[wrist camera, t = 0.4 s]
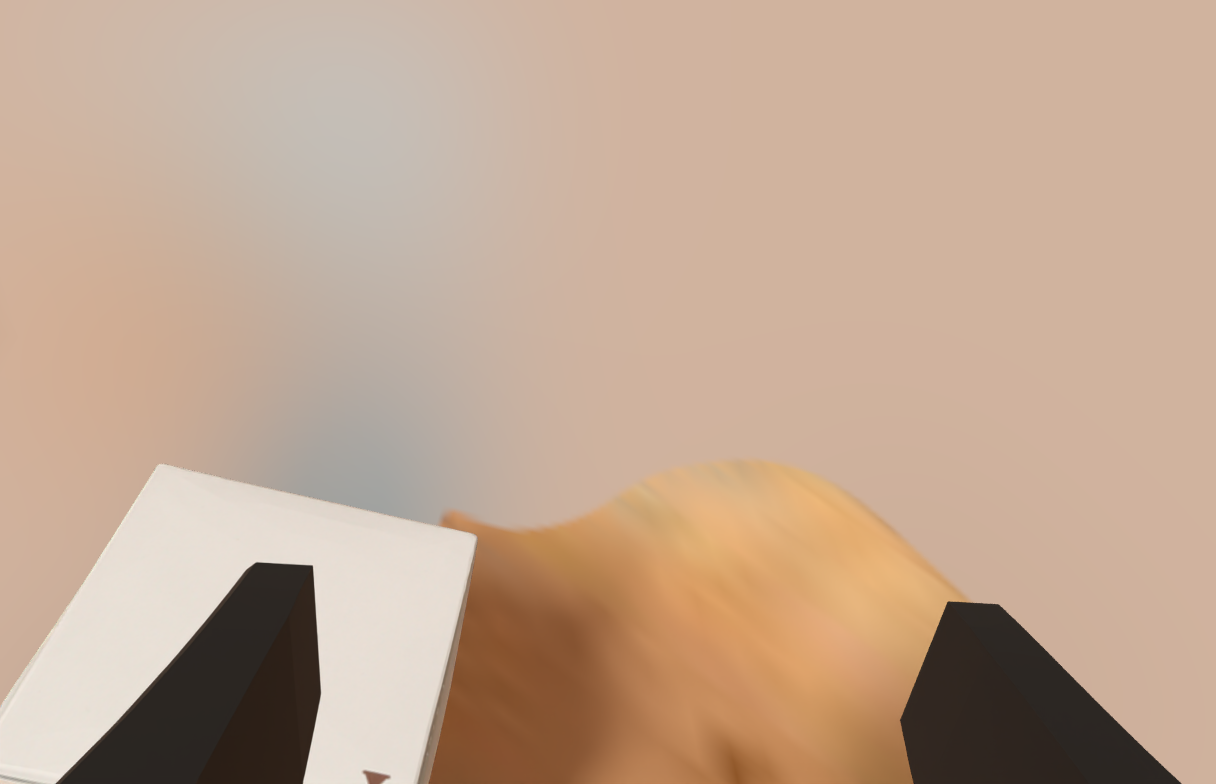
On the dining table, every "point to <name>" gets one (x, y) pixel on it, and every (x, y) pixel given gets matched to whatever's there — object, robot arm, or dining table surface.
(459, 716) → the dining table surface
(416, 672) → the supplement box
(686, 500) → the dining table surface
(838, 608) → the dining table surface
